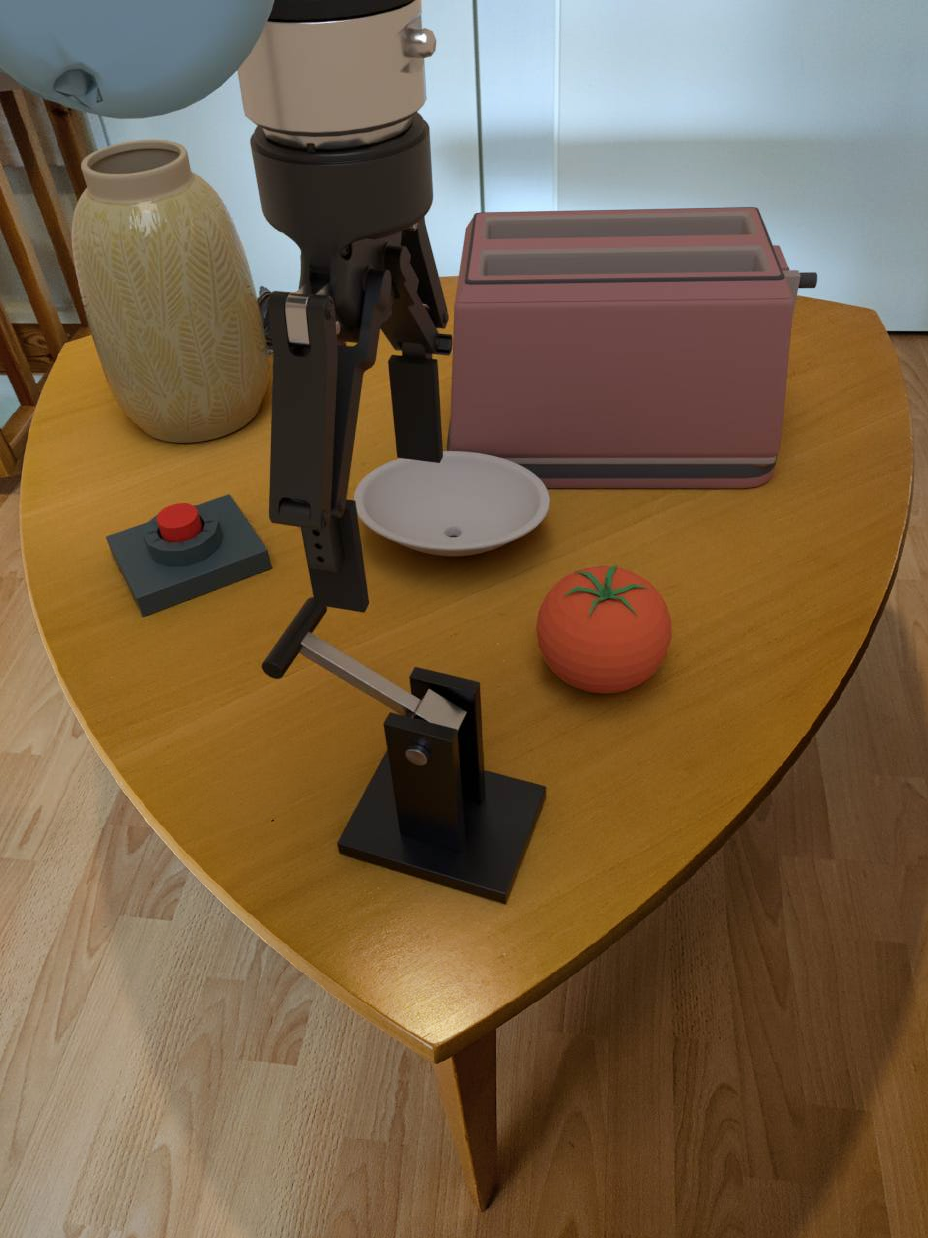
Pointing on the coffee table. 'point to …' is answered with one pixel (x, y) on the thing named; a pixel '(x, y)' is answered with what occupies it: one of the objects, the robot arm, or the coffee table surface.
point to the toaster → (624, 346)
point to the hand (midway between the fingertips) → (384, 524)
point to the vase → (168, 294)
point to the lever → (354, 671)
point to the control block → (188, 557)
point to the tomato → (603, 629)
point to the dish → (452, 503)
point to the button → (179, 522)
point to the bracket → (444, 801)
